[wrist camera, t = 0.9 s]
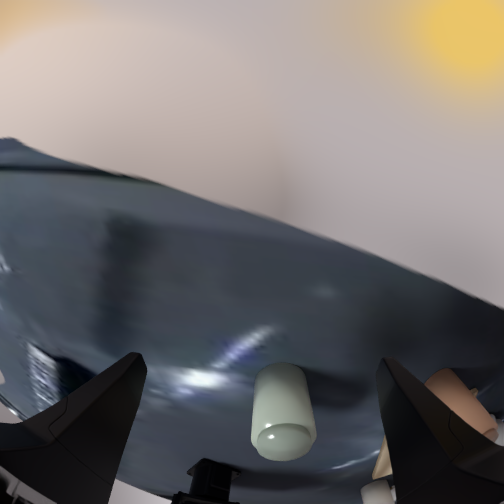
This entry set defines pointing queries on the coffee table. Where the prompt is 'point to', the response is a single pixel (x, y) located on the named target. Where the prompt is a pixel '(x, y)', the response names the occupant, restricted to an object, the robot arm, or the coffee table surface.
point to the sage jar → (282, 413)
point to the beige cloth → (383, 459)
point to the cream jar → (377, 493)
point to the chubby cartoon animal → (499, 431)
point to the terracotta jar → (462, 402)
